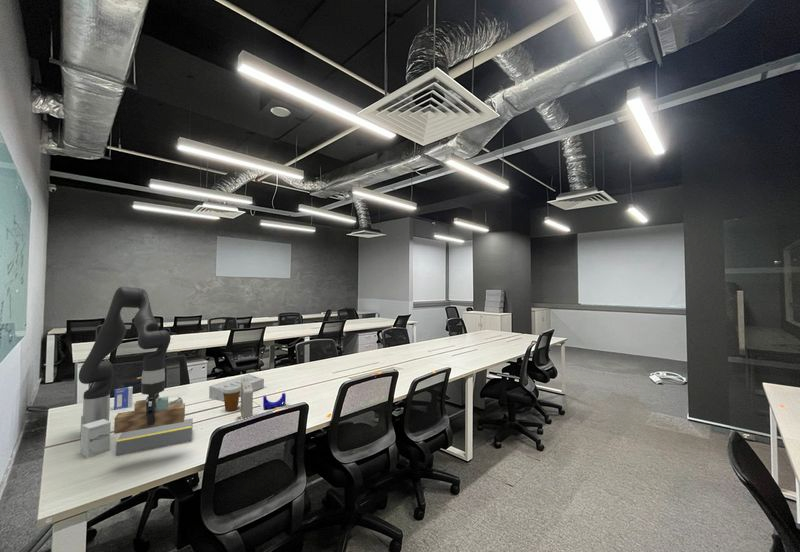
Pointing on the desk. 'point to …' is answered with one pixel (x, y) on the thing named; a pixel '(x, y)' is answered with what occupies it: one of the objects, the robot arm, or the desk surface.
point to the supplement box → (95, 438)
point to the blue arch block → (272, 404)
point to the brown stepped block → (139, 421)
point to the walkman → (123, 398)
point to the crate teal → (162, 404)
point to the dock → (154, 437)
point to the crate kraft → (140, 407)
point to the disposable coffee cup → (231, 397)
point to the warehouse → (217, 389)
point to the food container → (176, 401)
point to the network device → (246, 399)
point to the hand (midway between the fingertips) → (152, 421)
